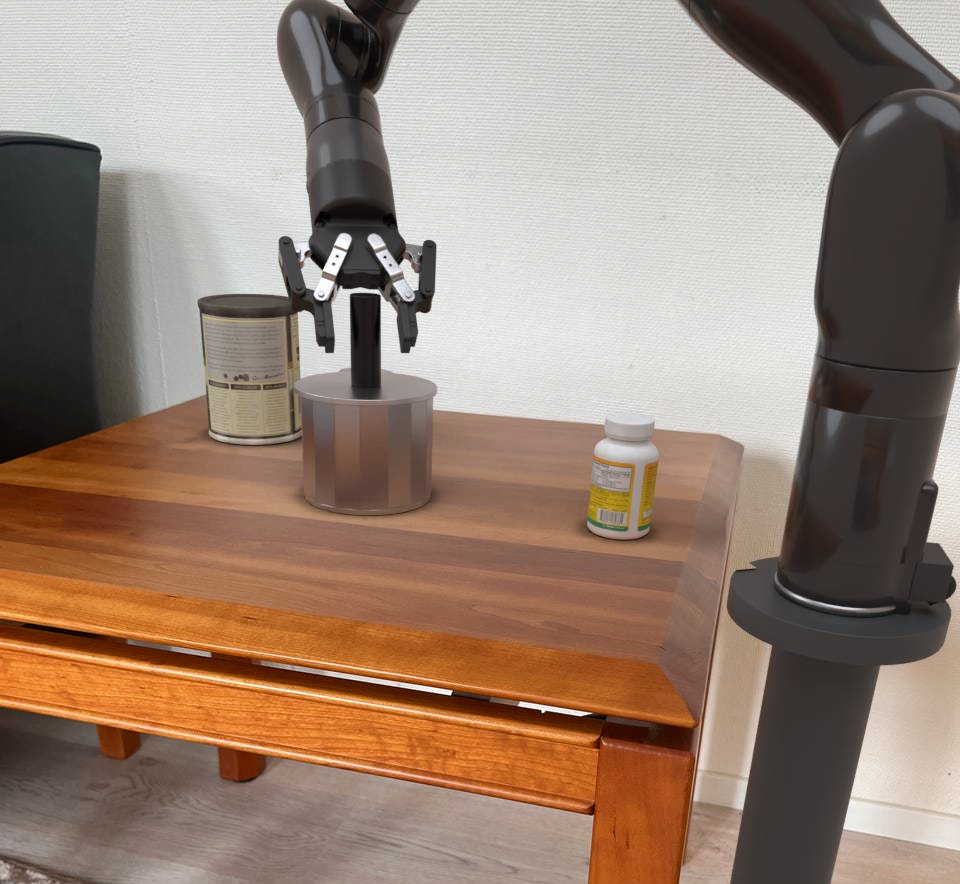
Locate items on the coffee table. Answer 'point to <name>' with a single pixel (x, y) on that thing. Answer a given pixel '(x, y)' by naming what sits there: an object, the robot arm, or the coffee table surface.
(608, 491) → the supplement bottle
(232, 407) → the coffee can
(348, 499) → the canister
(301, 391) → the canister lid
